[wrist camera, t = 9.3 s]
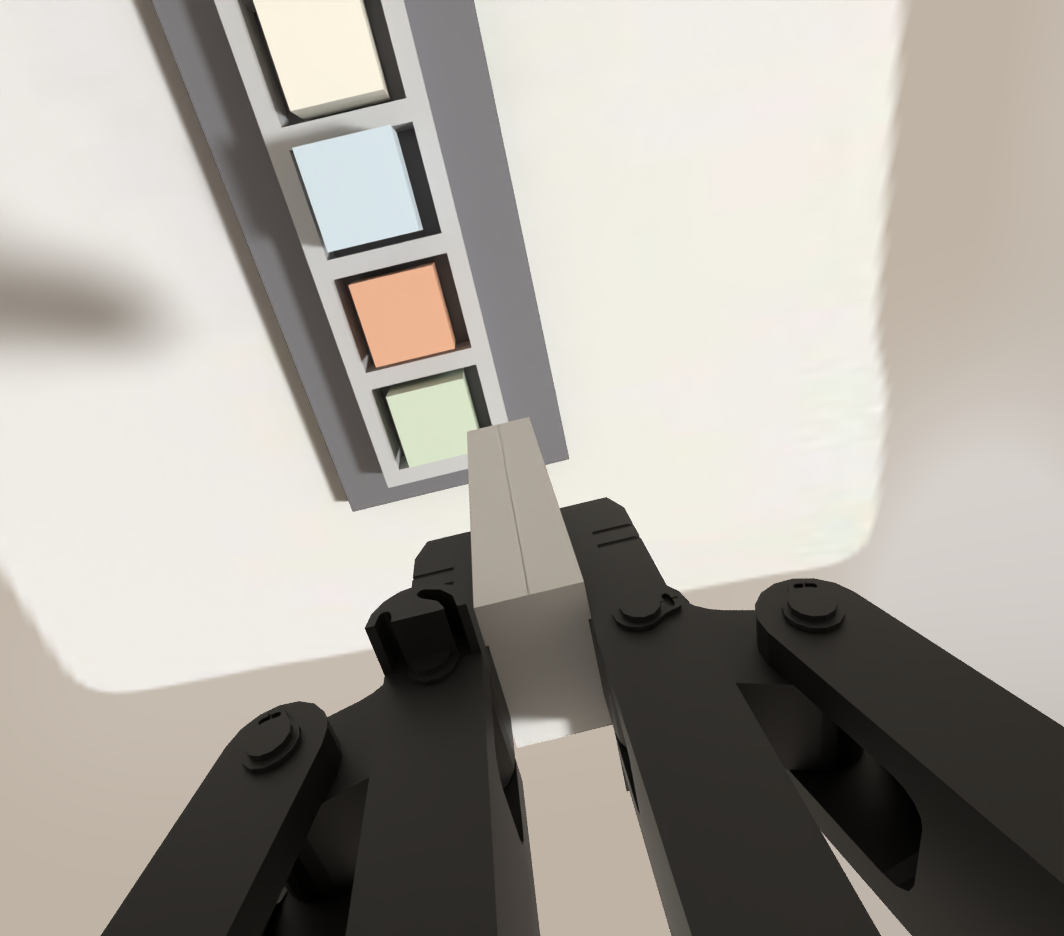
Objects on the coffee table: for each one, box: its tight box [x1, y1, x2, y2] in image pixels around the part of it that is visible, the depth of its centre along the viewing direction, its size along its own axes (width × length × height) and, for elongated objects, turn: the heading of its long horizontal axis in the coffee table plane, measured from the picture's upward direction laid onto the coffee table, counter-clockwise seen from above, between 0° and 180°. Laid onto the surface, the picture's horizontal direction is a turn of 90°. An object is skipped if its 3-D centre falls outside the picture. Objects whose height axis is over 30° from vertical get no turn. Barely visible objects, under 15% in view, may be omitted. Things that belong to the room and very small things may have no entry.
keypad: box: [152, 0, 569, 512], centre depth 26 cm, size 24×12×3 cm, turn 12°
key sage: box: [386, 368, 480, 468], centre depth 28 cm, size 4×4×2 cm
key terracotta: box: [348, 262, 456, 367], centre depth 26 cm, size 4×4×2 cm
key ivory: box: [253, 0, 391, 120], centre depth 22 cm, size 4×4×2 cm
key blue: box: [292, 125, 423, 252], centre depth 23 cm, size 4×4×2 cm
